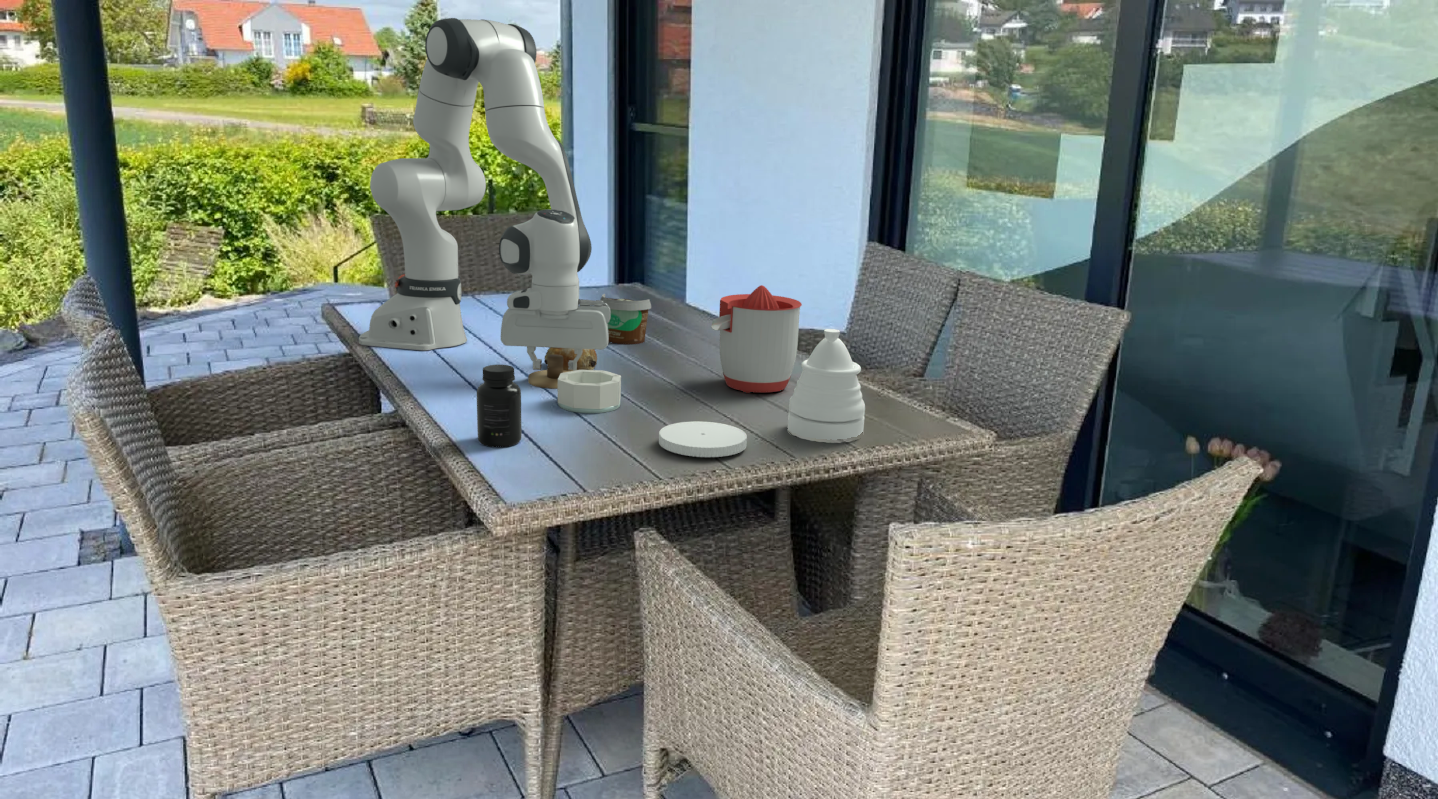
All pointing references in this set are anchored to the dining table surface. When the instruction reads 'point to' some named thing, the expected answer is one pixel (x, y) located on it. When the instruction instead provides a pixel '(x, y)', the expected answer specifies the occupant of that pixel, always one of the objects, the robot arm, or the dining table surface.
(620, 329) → the food container
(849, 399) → the honey pot
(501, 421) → the supplement bottle
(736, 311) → the citrus juicer
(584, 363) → the bread roll
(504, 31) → the robot arm
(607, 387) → the octagonal jar
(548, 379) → the wooden lid
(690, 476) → the dining table surface
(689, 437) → the plastic lid
